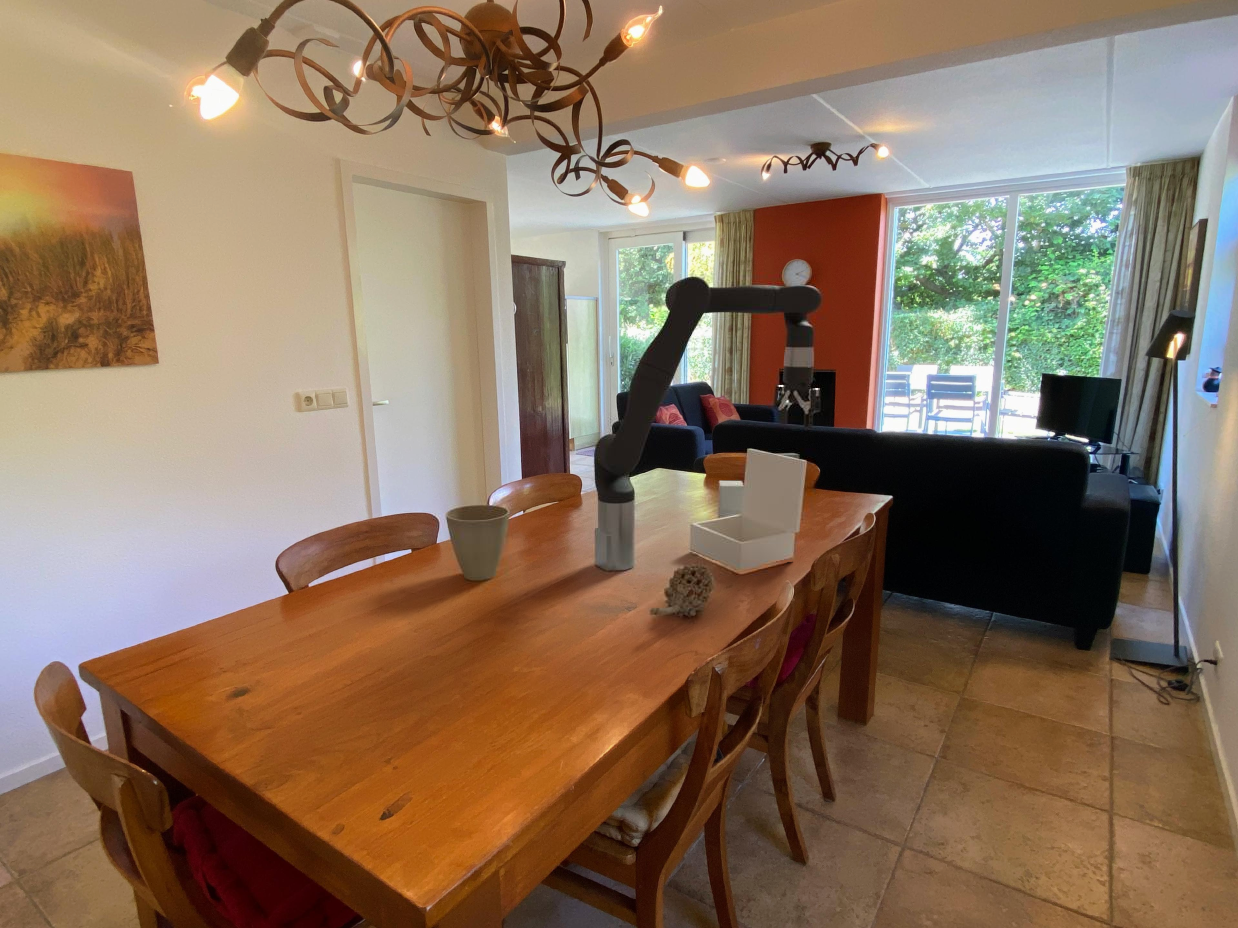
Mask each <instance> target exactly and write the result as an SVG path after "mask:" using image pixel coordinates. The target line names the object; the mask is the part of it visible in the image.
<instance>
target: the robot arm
mask: <svg viewBox="0 0 1238 928" xmlns="http://www.w3.org/2000/svg"><path fill="white" fill-rule="evenodd" d="M664 301H665V306H666V308H667V310H668V311H669V312H668V314H667V316H666V319H665V321H664V324H663V325H662V327H661V329H660V330H659V331H658V333H657V334H656V336H655V337H654V338H653V340H652V341H651V342H650V344H649V345H648V346H647V348H646V349H645V351H644V353H643V354H642V356H641V358H640V359H639V362H638V363H637V364H638V365H637V366H636V368H635V371H634V373H633V375H632V378H631V380H630V384H629V389H628V397H627V404H626V405H627V406H626V411H625V414H624V417H623V419H622V421H621V424H620V426H619V428H618V430H617V432H616V433H608V434H606V435H603V436H602V437H600V438H599V440H598V441H597V442H596V443H595V448H594V450H593V451H594V452H593V469H594V470H593V471H594V485H595V488H596V493H597V527H595V529H594V564H595V565H596V566H598V567H599V568H601V569H602V570H604V571H605V572H609V571H626V570H629V569H631V568H634V566H635V509H636V506H635V503H636V501H635V500H636V499H635V497H636V496H635V494H636V493H635V487H634V486H633V483H632V482H631V478H630V473H632V471H634V470H635V469H636V467H637V466H638V464H639V462H640V459H641V456H642V454H643V451H644V448H645V444H646V441H647V439H648V437H649V436H648V435H649V433H650V430H651V427H652V425H653V423H654V420H655V419H656V416H657V414H658V412H659V410H660V408H661V405H662V403H663V401H664V398H665V397H666V394H667V393H668V391H669V388H670V386H671V384H672V381H673V379H674V377H675V375H676V372H677V369H678V367H679V365H680V363H681V361H682V358H683V356H684V354H685V352H686V351H685V350H686V349H687V347H688V343H689V341H690V339H691V337H692V335H693V334H694V332H695V329H696V327H697V326H698V324H699V323H700V321H701V320H702V318H703V316H704V315H705V314H713V313H735V314H736V313H737V314H754V315H755V314H757V315H758V314H759V315H761V314H762V315H763V314H765V315H767V314H768V315H772V314H774V315H775V314H782V313H783V319H784V325H785V328H786V329H785V330H786V336H785V350H784V356H783V357H784V359H783V373H782V374H783V375H782V382H783V383H784V384H781V385H780V384H779V385H775V388H774V399H773V407H774V408H777V409H778V410H779V413H778V414H779V415H778V416H779V417H778V418H779V419H778V420H779V424H780V425H788V421H789V418H788V417H789V410H788V409H789V408H790V406H791V405H792V404H796V405H799V406H800V407H801V408H802V409H803V411H804V414H803V428H804V429H811V428H812V427H813V425H814V414H815V413H819V412H821V400H822V399H821V395H822V394H821V393H822V392H821V391H822V390H821V389H820V388H811V384H812V383H813V381H814V379H813V378H814V363H815V361H814V360H815V353H814V345H815V344H814V342H815V329H814V326H813V325H812V324H809V320H808V315H809V314H812V313H814V312H816V311H817V310H818V309H819V307H820V306H821V305H822V301H823V299H822V293H821V292H820V290H819V288H818V289H817V288H816V287H814V286H812V285H803V284H802V285H786V286H782V285H781V286H779V285H771V284H770V285H768V284H751V285H749V284H747V285H738V286H725V287H723V286H722V287H715V286H709V284H708V283H707V281H706V280H705V279H704V278H702V277H700V276H688V277H684V278H681V279H679V280H677V281H675V282H674V283H672V284H671V285H670V286H669V287H668V289H667V290H666V292H665V298H664Z"/></svg>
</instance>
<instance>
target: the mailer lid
mask: <svg viewBox="0 0 1238 928" xmlns="http://www.w3.org/2000/svg"><path fill="white" fill-rule="evenodd" d="M745 459H746V461H745V472H744V482H743V485H744V491H743V501H742V511H741V514H743V515H746V516H749V517H752V518H755V519H758V520H761V521H763V522H766V523H769V524H772V525H775V526H778V527H781V528H784V529H787V530H790V531H793V532H795V533H800V528H801V521H802V520H801V519H802V518H801V517H802V509H803V501H804V491H805V482H806V474H807V473H806V472H807V465H808V463H807V460H805V459H800V454H798V453H794V452H790V453H785V452H784V453H772V452H768V451H763V450H759V449H754V448H747V451H746V458H745Z"/></svg>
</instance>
